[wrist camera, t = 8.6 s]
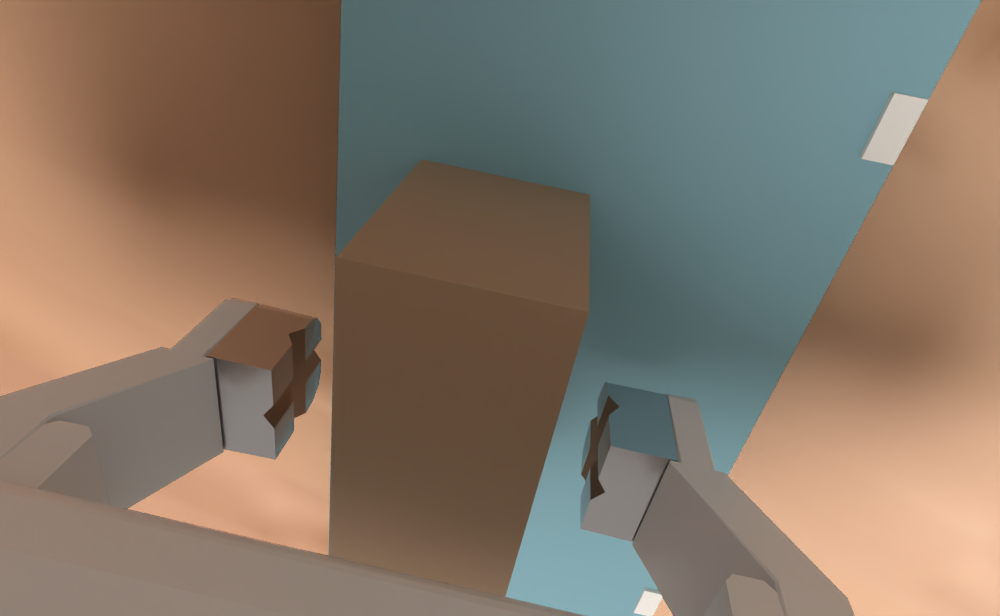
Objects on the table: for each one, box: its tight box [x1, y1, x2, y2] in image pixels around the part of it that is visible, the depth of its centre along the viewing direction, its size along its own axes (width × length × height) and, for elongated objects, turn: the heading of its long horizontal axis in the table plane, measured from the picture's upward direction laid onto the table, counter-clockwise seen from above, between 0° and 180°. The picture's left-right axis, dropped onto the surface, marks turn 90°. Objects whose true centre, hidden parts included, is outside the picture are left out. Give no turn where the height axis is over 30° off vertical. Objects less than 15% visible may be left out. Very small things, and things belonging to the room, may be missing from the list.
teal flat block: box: [328, 0, 981, 616], centre depth 11 cm, size 18×9×5 cm, turn 170°
